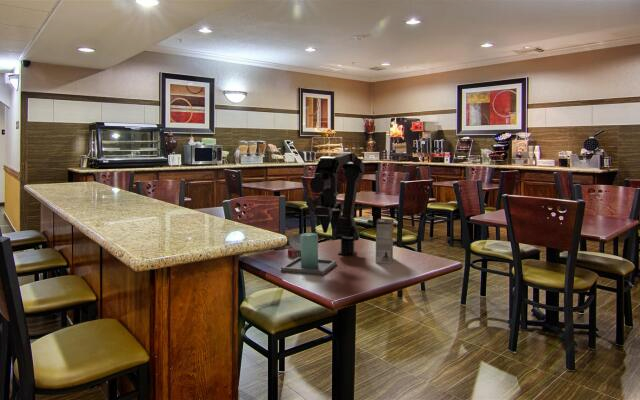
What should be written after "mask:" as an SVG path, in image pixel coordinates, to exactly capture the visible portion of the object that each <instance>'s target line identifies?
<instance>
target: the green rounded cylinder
mask: <svg viewBox="0 0 640 400" xmlns="http://www.w3.org/2000/svg"><path fill="white" fill-rule="evenodd" d="M300 237H301V267H302V268H306V269H312V268H317V267H318V259H319V238H318V237H319V236H318V233H315V232H305V233H301V235H300Z"/></svg>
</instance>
